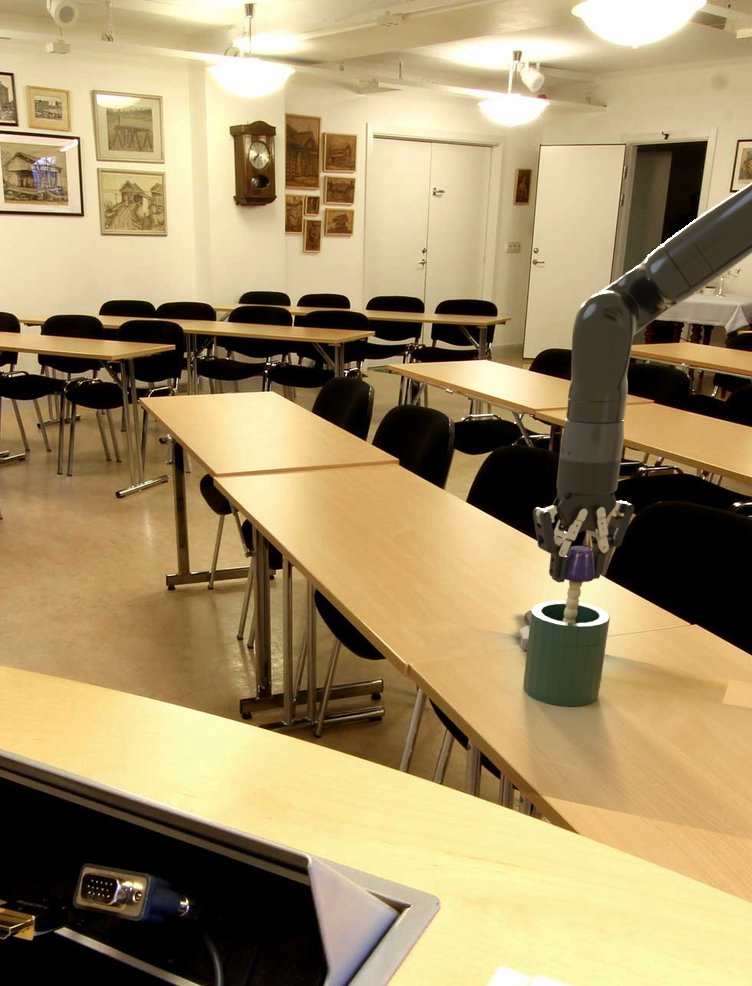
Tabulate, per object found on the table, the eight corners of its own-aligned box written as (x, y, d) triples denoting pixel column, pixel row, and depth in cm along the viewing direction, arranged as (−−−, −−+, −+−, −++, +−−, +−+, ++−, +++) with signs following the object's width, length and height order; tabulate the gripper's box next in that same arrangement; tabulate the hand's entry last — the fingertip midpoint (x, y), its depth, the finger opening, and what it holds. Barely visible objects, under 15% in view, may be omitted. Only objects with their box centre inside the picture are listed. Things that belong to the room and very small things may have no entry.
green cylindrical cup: (605, 685, 132) (616, 608, 128) (588, 712, 125) (600, 631, 120) (534, 671, 138) (543, 596, 133) (514, 696, 130) (522, 617, 125)
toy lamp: (584, 656, 130) (599, 545, 124) (581, 669, 126) (597, 555, 120) (549, 652, 132) (562, 541, 126) (545, 664, 128) (559, 551, 122)
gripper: (555, 463, 114) (541, 592, 120) (657, 455, 116) (639, 582, 123) (525, 453, 120) (513, 575, 127) (622, 446, 123) (606, 566, 129)
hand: (575, 578), depth 125 cm, fingers closed on toy lamp, 4 cm apart
